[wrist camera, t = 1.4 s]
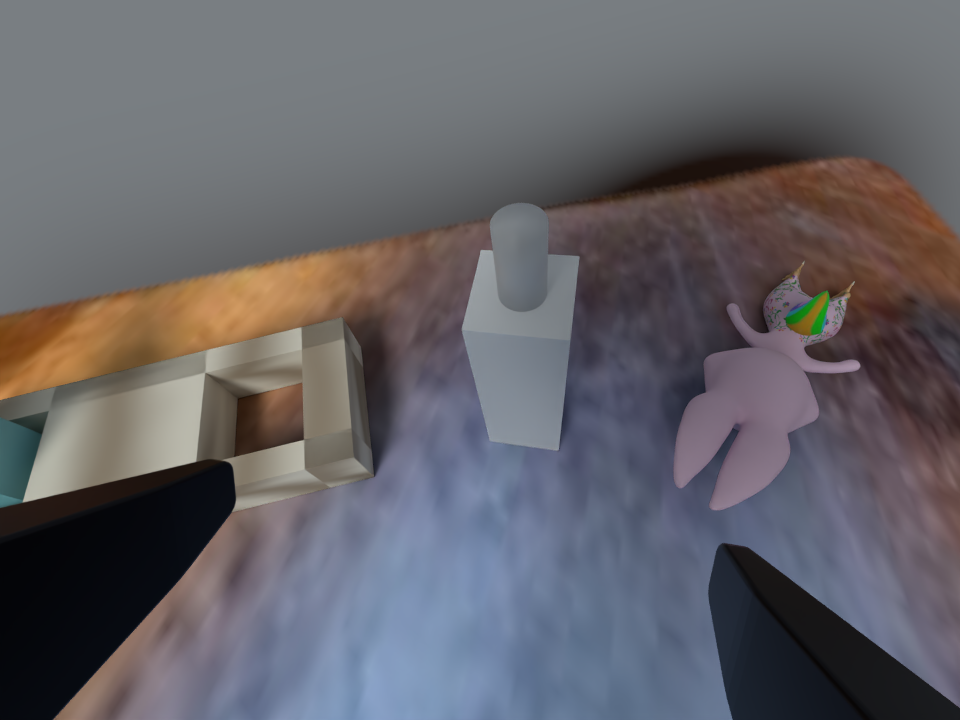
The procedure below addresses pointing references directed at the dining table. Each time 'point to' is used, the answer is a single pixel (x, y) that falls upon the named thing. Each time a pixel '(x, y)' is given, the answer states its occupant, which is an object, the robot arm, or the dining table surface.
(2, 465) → the teal plug
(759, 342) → the pink horned figurine
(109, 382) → the slot rack
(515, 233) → the grey plug
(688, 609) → the dining table surface
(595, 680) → the dining table surface
